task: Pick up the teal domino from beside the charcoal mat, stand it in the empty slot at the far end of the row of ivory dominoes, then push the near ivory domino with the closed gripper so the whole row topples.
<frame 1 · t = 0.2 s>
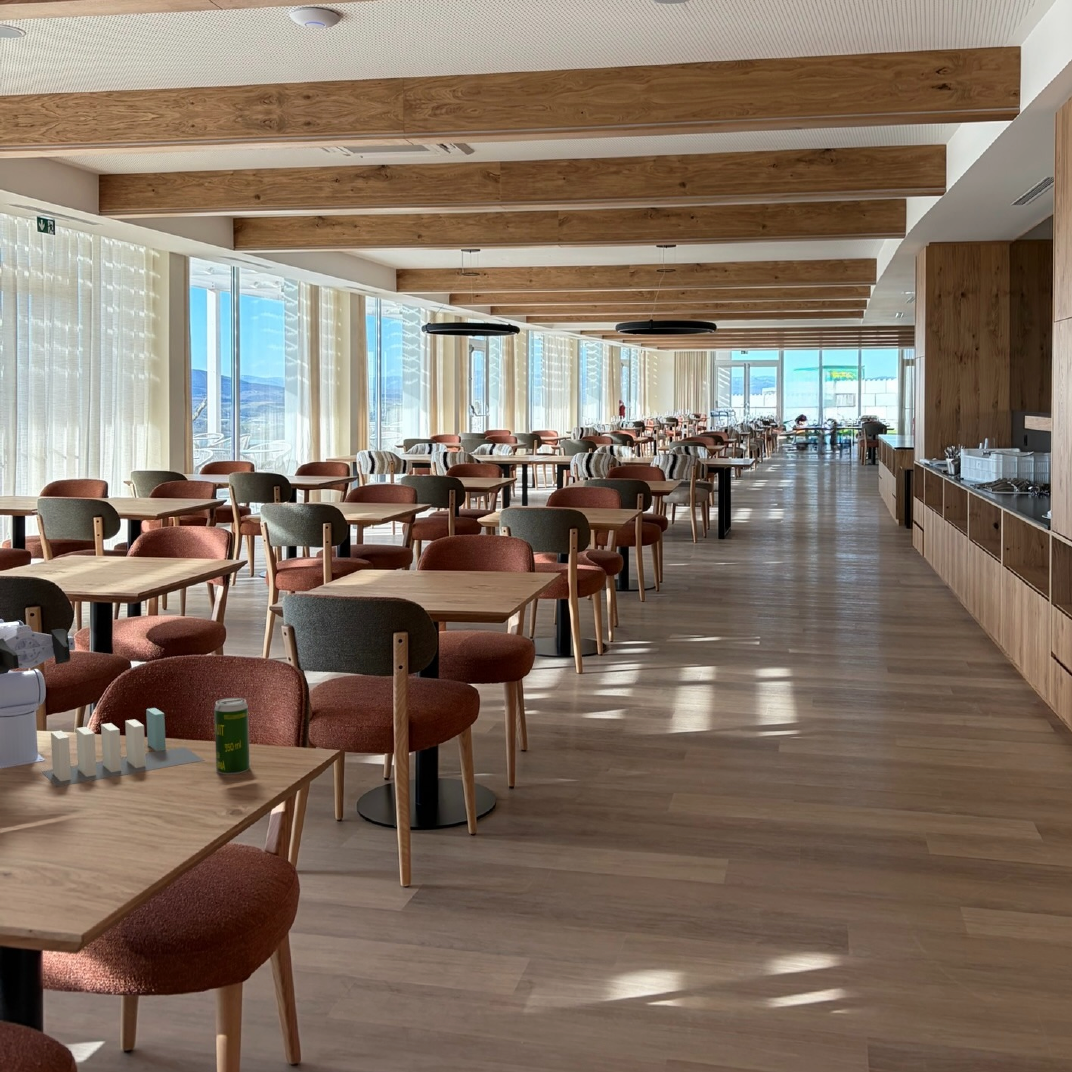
hand: (41, 657, 184), 21 cm above the table, tool horizontal, fingers open, 7 cm apart
teal domino: (156, 749, 208), on the table
charcoal mat: (124, 768, 197), on the table
ivory domino 3: (112, 767, 196), resting on charcoal mat
green drink can: (233, 773, 195), on the table
ivory domino 4: (136, 763, 198), resting on charcoal mat
ivory domino 1: (61, 776, 191), resting on charcoal mat
ivory domino 2: (87, 772, 194), resting on charcoal mat
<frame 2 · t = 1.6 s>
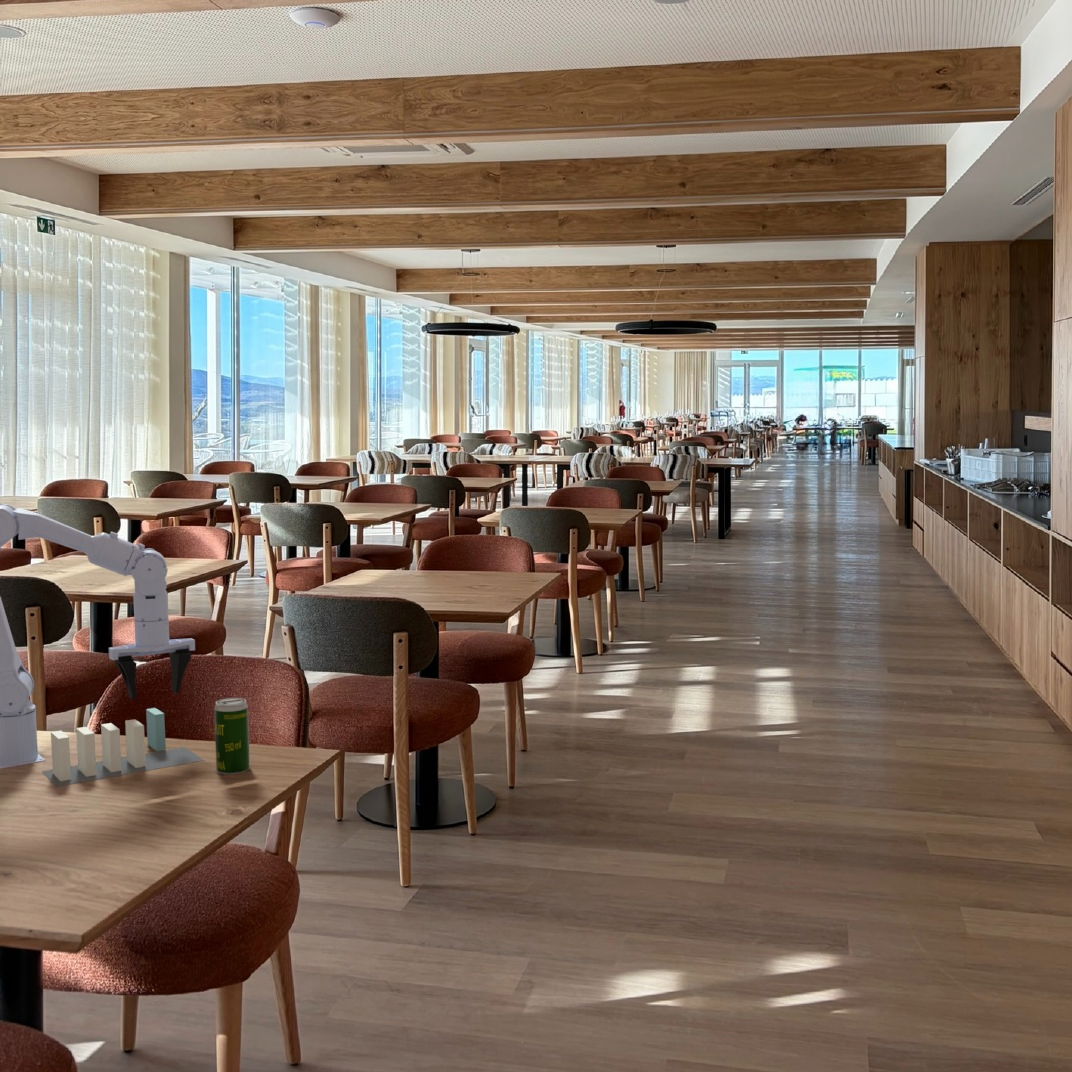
hand: (154, 694, 207), 10 cm above the table, tool pointing down, fingers open, 7 cm apart
nothing on the table moved.
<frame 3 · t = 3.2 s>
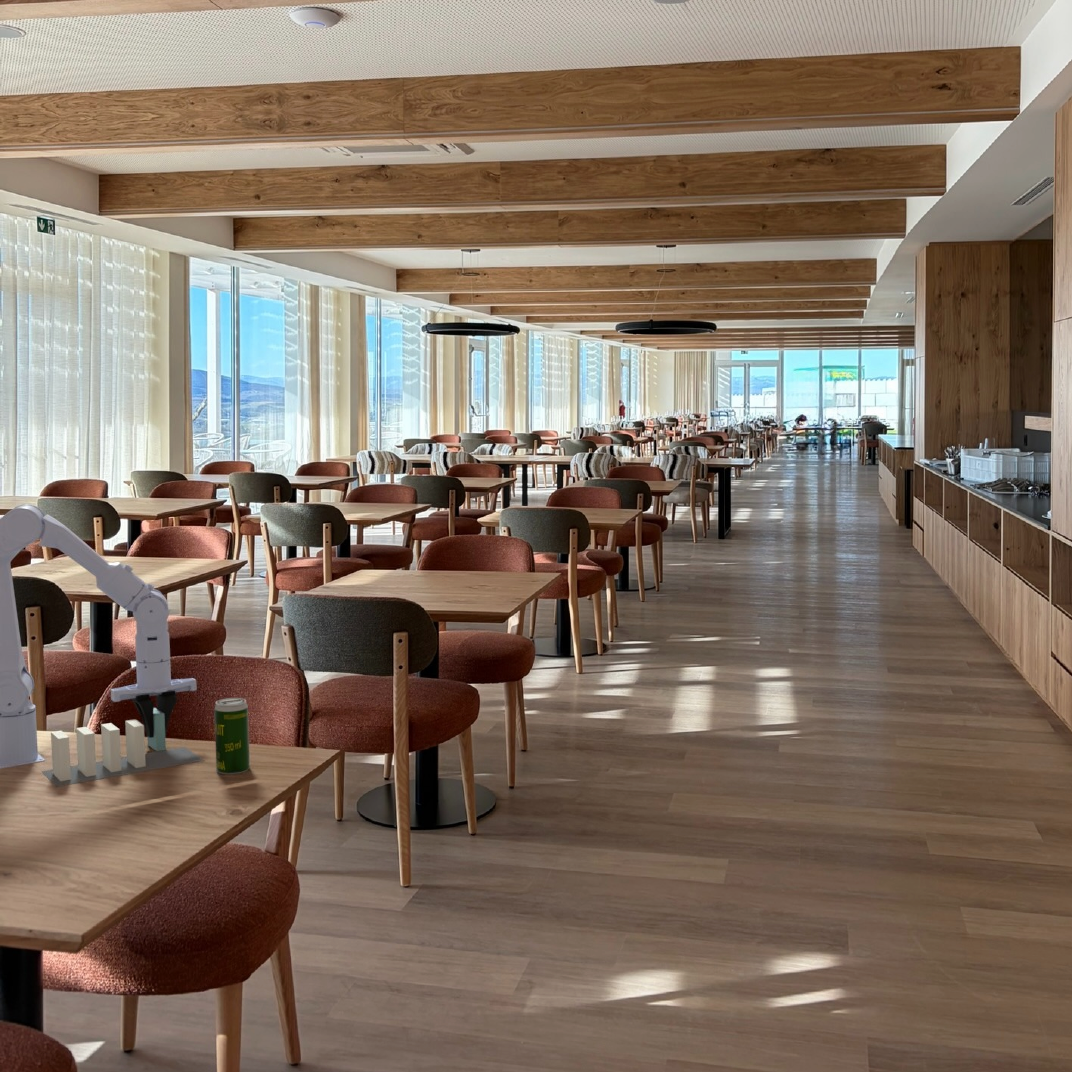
hand: (156, 735, 208), 3 cm above the table, tool pointing down, fingers closed on teal domino, 2 cm apart
teal domino: (156, 749, 208), on the table, touching gripper
everything else where it was.
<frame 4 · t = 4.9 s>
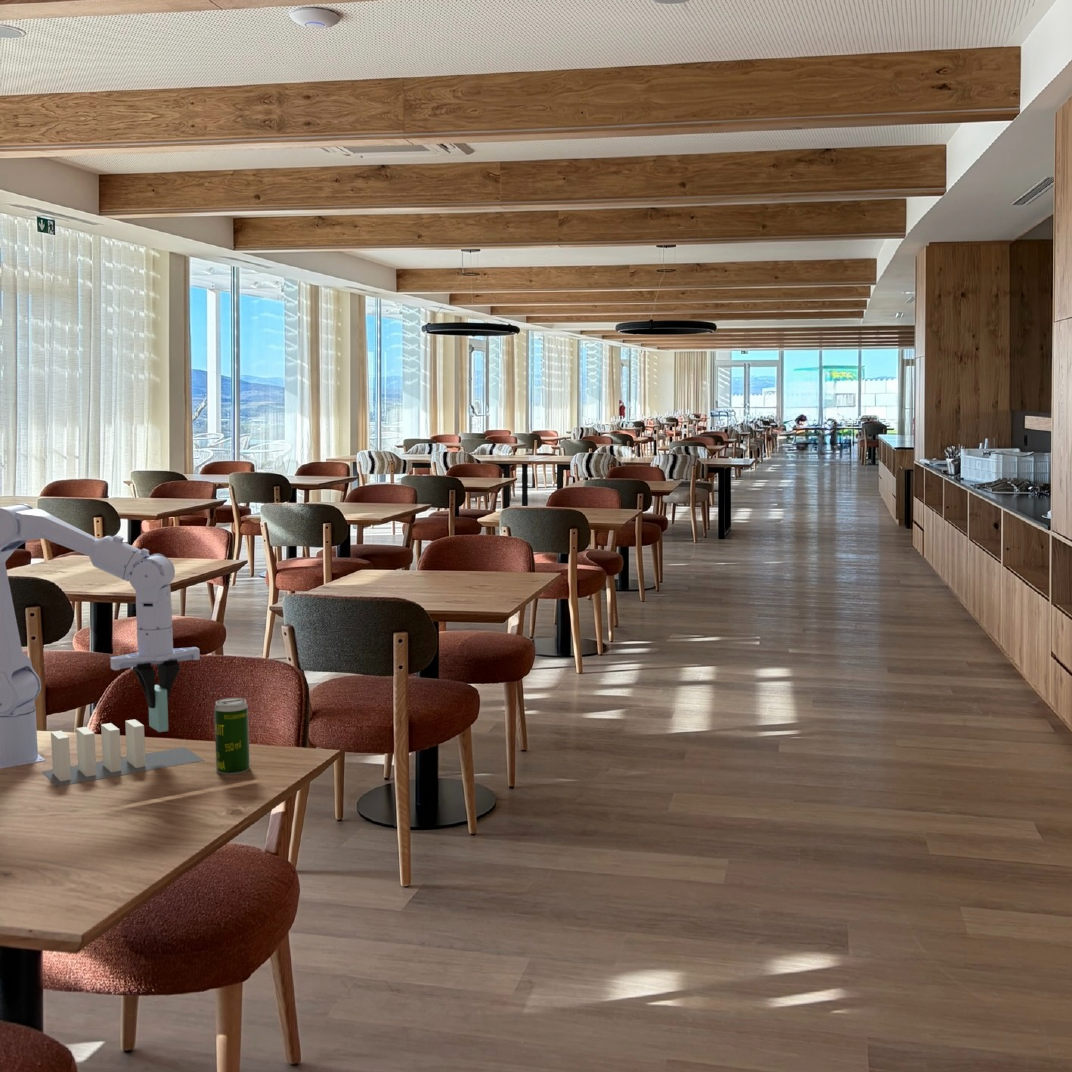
hand: (157, 706, 200), 10 cm above the table, tool pointing down, fingers closed on teal domino
teal domino: (158, 728, 200), point 6 cm above the table, touching gripper
everything else where it was.
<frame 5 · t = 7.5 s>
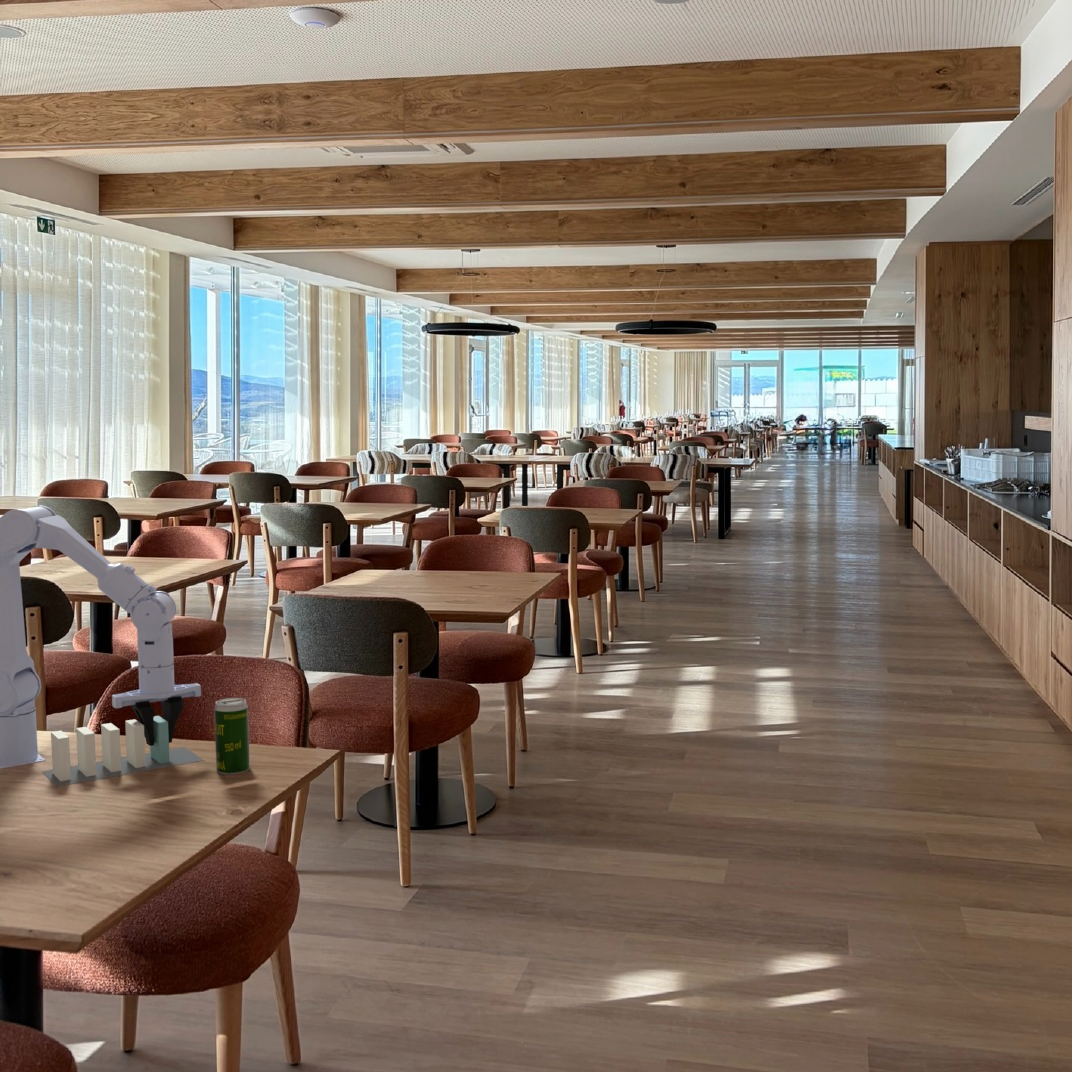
hand: (159, 742, 200), 3 cm above the table, tool pointing down, fingers closed
teal domino: (160, 759, 201), resting on charcoal mat
everything else where it was.
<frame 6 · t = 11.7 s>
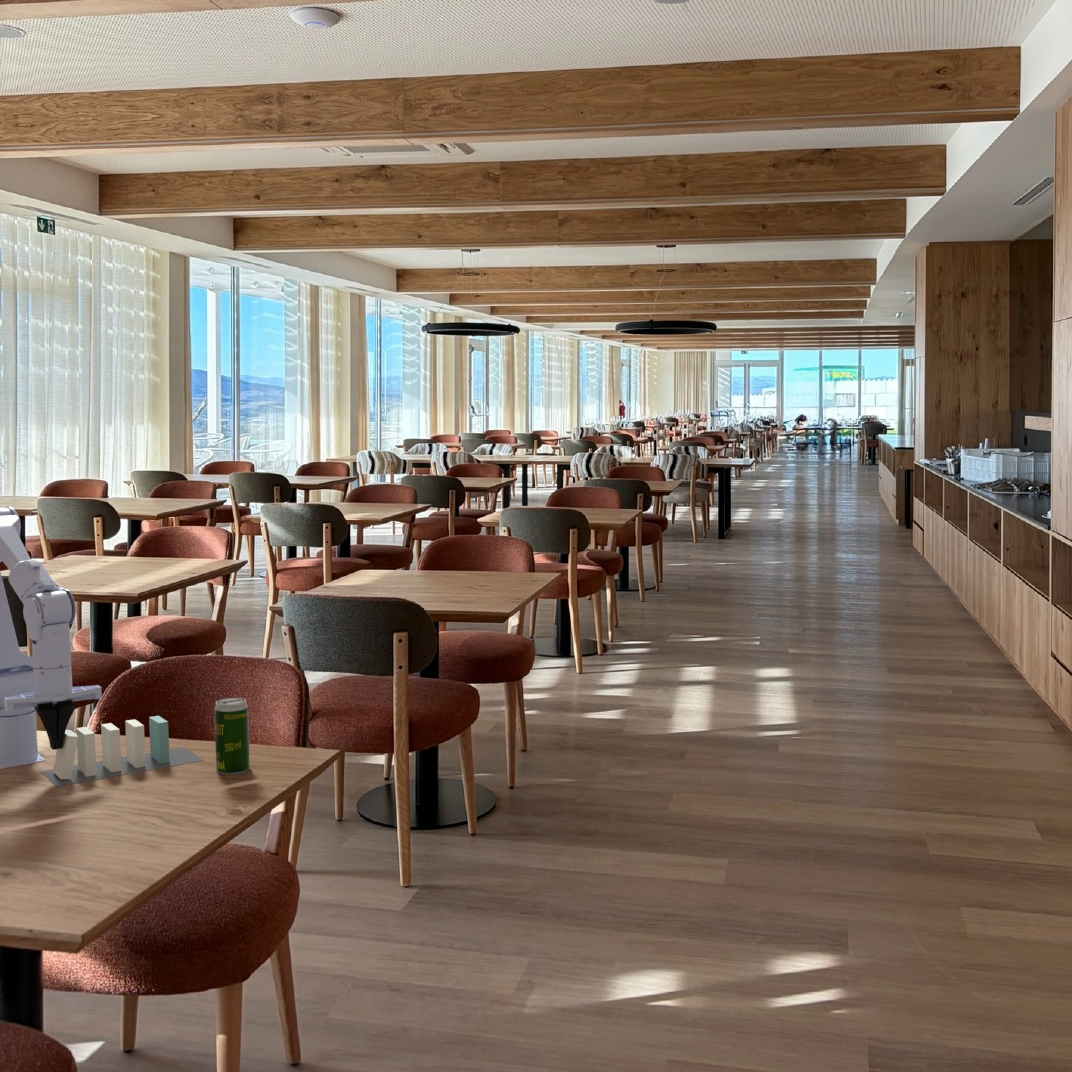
hand: (56, 747, 190), 5 cm above the table, tool pointing down, fingers closed
ivory domino 1: (61, 775, 191), point 1 cm above the table, tilted 12°, touching charcoal mat
everything else where it was.
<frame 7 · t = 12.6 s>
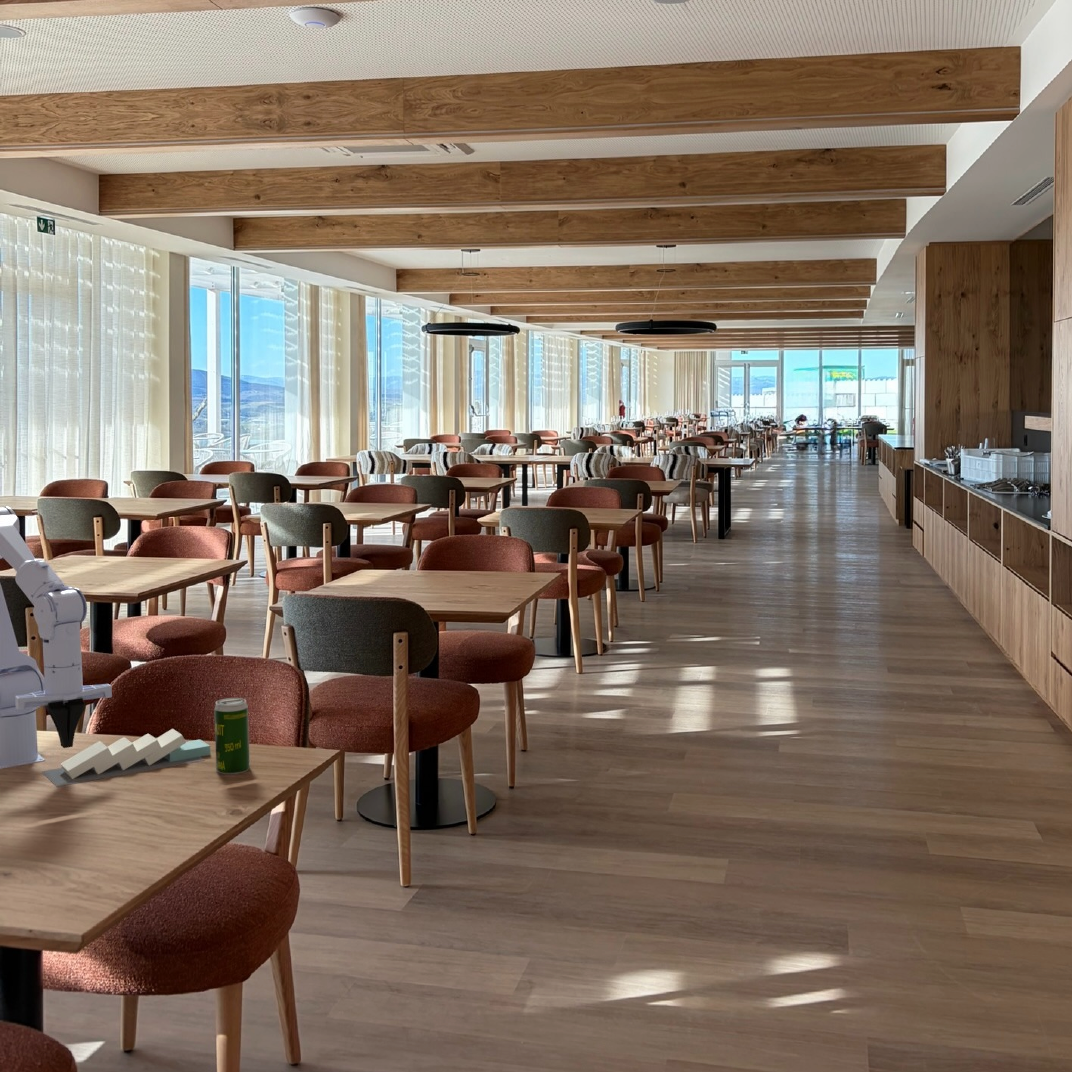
hand: (66, 746, 191), 5 cm above the table, tool pointing down, fingers closed
teal domino: (165, 753, 201), point 1 cm above the table, tilted 90°, touching charcoal mat, ivory domino 4
ivory domino 3: (116, 762, 196), point 1 cm above the table, tilted 67°, touching charcoal mat, ivory domino 2, ivory domino 4
ivory domino 4: (142, 758, 199), point 1 cm above the table, tilted 66°, touching charcoal mat, ivory domino 3, teal domino
ivory domino 1: (66, 771, 192), point 1 cm above the table, tilted 67°, touching charcoal mat, ivory domino 2
ivory domino 2: (91, 767, 194), point 1 cm above the table, tilted 67°, touching charcoal mat, ivory domino 1, ivory domino 3
everything else where it was.
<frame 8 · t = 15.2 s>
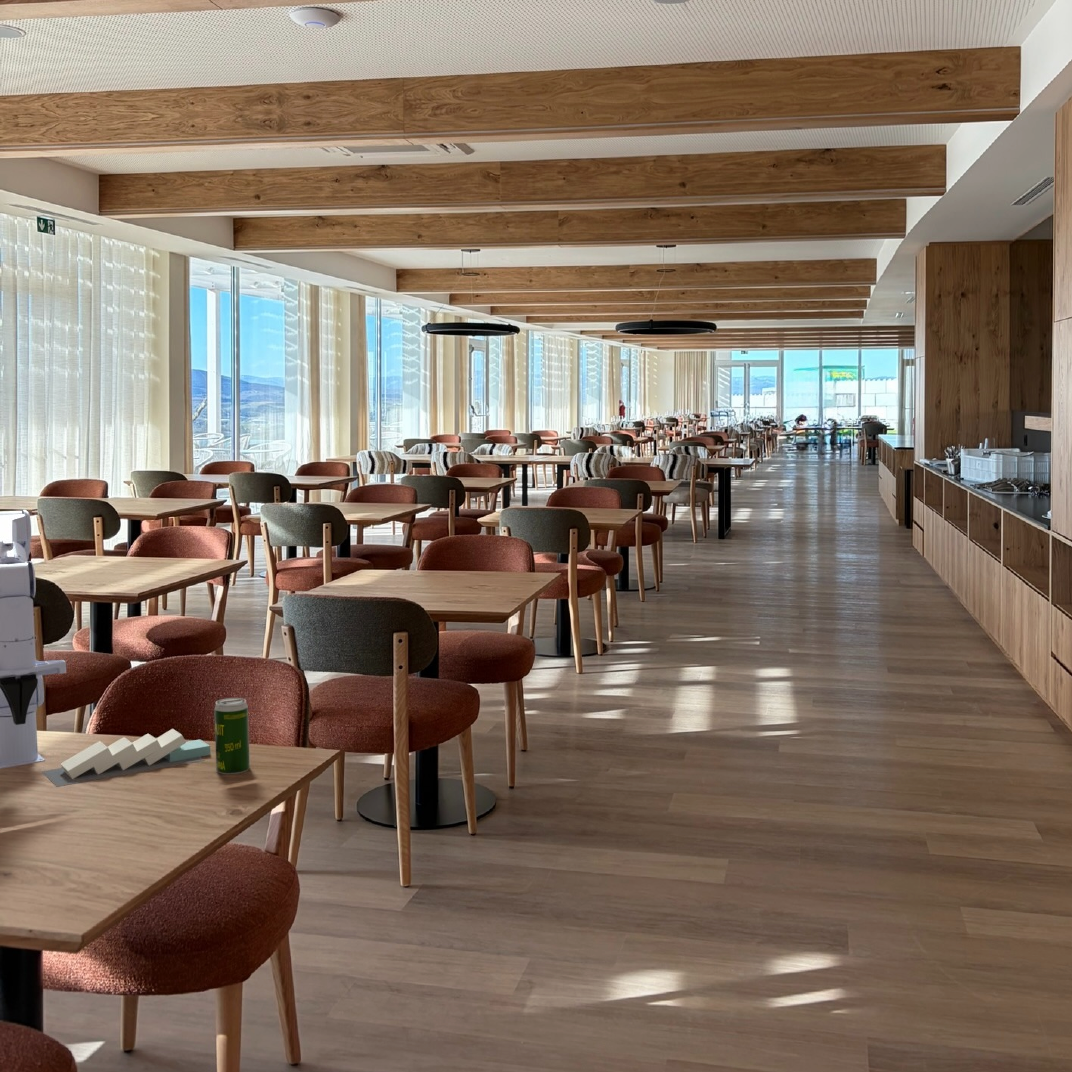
hand: (19, 723, 187), 10 cm above the table, tool pointing down, fingers closed
nothing on the table moved.
at the end: teal domino tilted 90°; ivory domino 3 tilted 67°; teal domino 0.2 cm from the target spot on the charcoal mat, point 1.3 cm above the charcoal mat's base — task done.
